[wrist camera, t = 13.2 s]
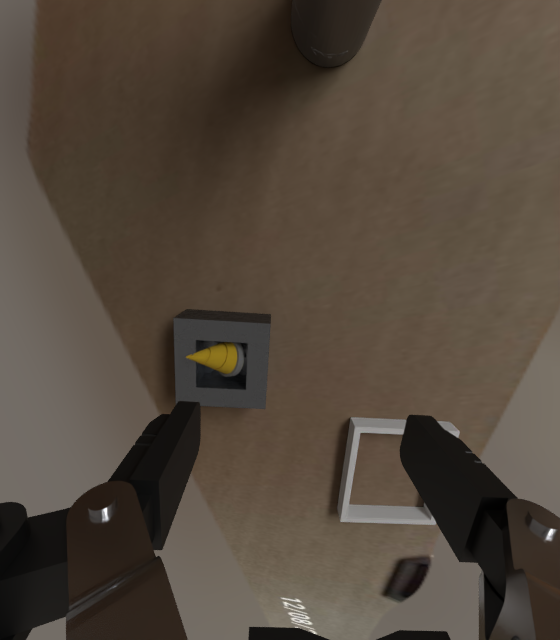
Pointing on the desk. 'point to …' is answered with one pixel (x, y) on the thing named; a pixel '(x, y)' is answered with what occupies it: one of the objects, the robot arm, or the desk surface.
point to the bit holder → (208, 384)
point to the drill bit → (222, 358)
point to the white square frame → (344, 509)
